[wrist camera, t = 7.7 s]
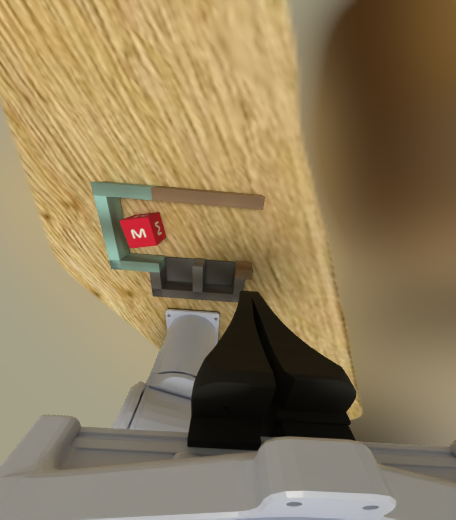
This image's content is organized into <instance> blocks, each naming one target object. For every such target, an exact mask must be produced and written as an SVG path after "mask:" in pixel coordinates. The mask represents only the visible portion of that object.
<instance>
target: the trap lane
mask: <svg viewBox="0 0 456 520" xmlns="http://www.w3.org/2000/svg"><path fill="white" fill-rule="evenodd" d="M90 183H91V187H92V191H93V195H94V199H95V203H96V208H97V212H98V216H99V220H100V224H101V228H102V232H103V237H104V241H105V245H106V249H107V253H108V257H109V261H110V265H111V269H119V270H133V271H146V272H150V278H151V286H152V293H153V296H156V297H170V298H184V299H198V300H212V301H226V302H238V300H239V293H240V291H243V289H244V282H245V279H252V273H253V269H252V265H251V262H238V261H235V262H229V261H216V260H205V259H200V258H196V259H190V258H178V257H165V256H161V255H148V254H135V253H130V252H129V246H128V242H127V239H126V237H125V234H124V232H123V229H122V226H121V224H120V220H122V219H123V213H122V208H121V202H120V198H131V199H143V200H155V201H166V202H178V203H190V204H202V205H214V206H226V207H237V208H249V209H261V210H263V206H264V199H265V197H264V196H262V195H255V194H244V193H232V192H220V191H209V190H197V189H186V188H174V187H163V186H151V185H140V184H128V183H116V182H90Z"/></svg>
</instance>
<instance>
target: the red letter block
mask: <svg viewBox="0 0 456 520" xmlns="http://www.w3.org/2000/svg"><path fill="white" fill-rule="evenodd" d="M120 224H121V226H122V229H123V232H124V234H125V237H126V239H127V242H128V245H129V247H130V248H138V247H147V246H156V245H158V244H159V243H160V242H161V241H162V240H163V239H164V238H166V235H165V231H164V228H163V224H162V220H161V217H160V213H159V212H156V213H148V214H139V215H133V216H131V217H128V218H125V219H122V220H120Z"/></svg>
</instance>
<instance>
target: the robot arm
mask: <svg viewBox="0 0 456 520" xmlns="http://www.w3.org/2000/svg"><path fill="white" fill-rule="evenodd" d="M165 314H166V324H167V334H166V337H165V339H164V342H163V344H162V347H161V349H160V351H159V354H158V356H157V359H156V361H155V364H154V366H153V369H152V371H151V373H150V376H149V378H148V380H147V382H146V384H145V383H144V382H139V383H138V384H136V385H134V386H133V387H131V389H130V391H129V394H128V396H127V398H126V400H125V402H124V404H123V406H122V408H121V410H120V412H119V414H118V416H117V419H116V421H115V423H114V425H113V427H112V428H95V427H81V426H80V422H79V421H78V420H77V419H76V418H74V417H72V416H62V415H42V416H41V417H40V418H39V419H38V420H37V421H36V423H35V424H34V425H33V427H32V428H31V429H30V430H29V432H28V433H27V434H26V435H25V437H24V438H23V439H22V440H21V441H20V443H19V444H18V445H17V446H16V448H15V449H14V450H13V451H12V453H11V454H10V455H9V456H8V458H7V459H6V460H5V462H4V463H3V464H2V465H1V466H0V520H456V441H454V442H452V443H451V444H450V445H449V447H442V446H424V445H423V446H422V445H407V444H406V445H405V444H388V443H370V442H358V441H356V440H355V438H354V436H353V434H352V432H351V430H350V428H349V426H348V425H350V424H351V422H350V419H349V417H348V415H347V413H346V412H347V410H348V409H349V408H350V406H351V405H352V403H353V402H354V400H355V398H356V390H355V388H354V386H353V385H352V383H351V381H350V379H349V378H348V376H347V374H346V373H345V371H344V370H343V368H342V367H340V366H339V365H337V364H336V363H334V362H332V361H331V360H329V359H328V358H326V357H324V356H323V355H321V354H320V353H318V352H317V351H316V350H314V349H313V348H311V347H310V346H309V345H307V344H306V343H305V342H303V341H302V340H301V339H300V338H299V337H297V336H296V335H295V334H294V333H293V332H292V331H291V330H290V329H288V328H287V327H286V326H285V325H284V324H283V323H282V322H281V321H280V319H279V318H278V317H277V316H276V315H275V314H274V312H273V311H272V310H271V309H270V307H269V306H268V305H267V304H266V302H265V301H264V299H263V298H262V297H261V295H260V294H259V292H253V291H240V293H239V300H238V306H237V309H236V312H235V314H234V317H233V319H232V321H231V323H230V325H229V326H228V328H227V330H226V331H225V333H224V335H223V336H222V338H221V339H220V340H219V342H218V330H219V317H220V314H219V313H217V312H205V311H191V310H177V309H167V310H166V312H165ZM168 314H169V315H168Z"/></svg>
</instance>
